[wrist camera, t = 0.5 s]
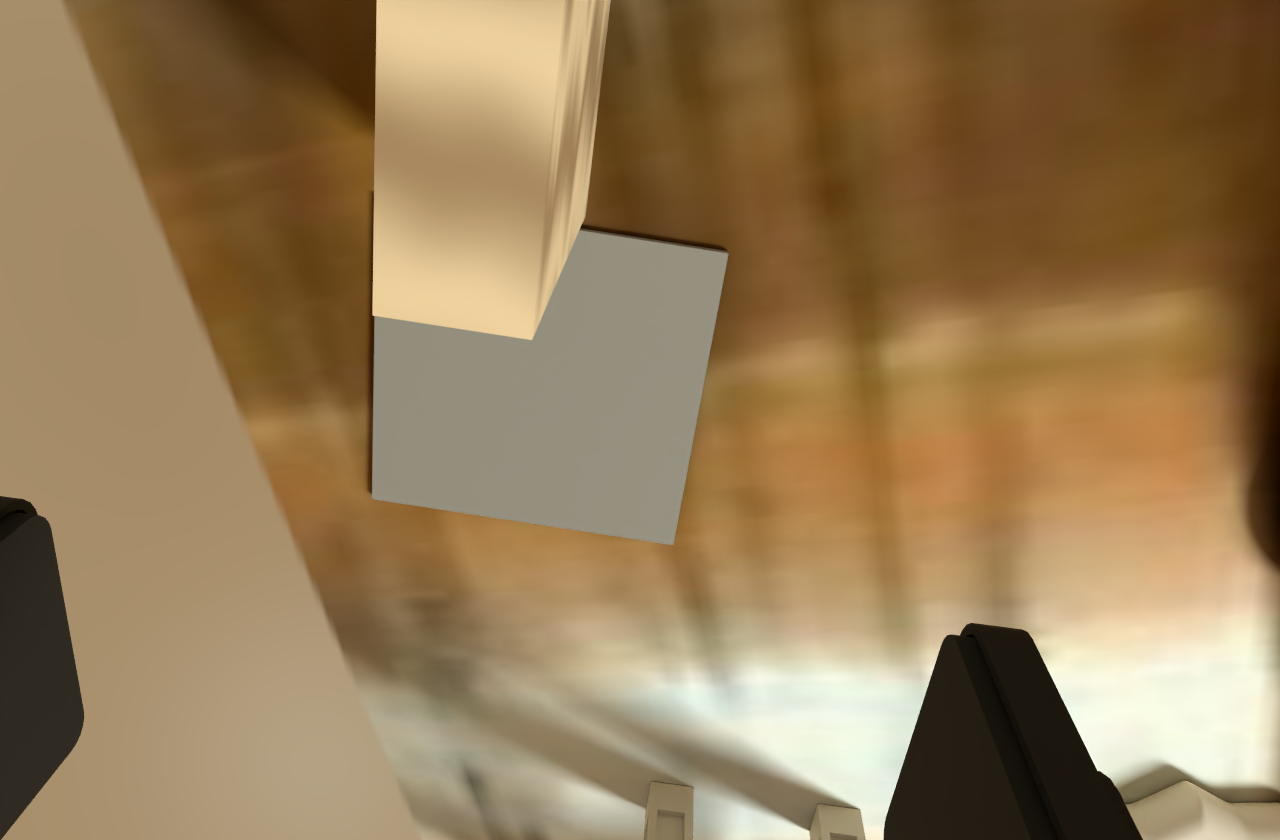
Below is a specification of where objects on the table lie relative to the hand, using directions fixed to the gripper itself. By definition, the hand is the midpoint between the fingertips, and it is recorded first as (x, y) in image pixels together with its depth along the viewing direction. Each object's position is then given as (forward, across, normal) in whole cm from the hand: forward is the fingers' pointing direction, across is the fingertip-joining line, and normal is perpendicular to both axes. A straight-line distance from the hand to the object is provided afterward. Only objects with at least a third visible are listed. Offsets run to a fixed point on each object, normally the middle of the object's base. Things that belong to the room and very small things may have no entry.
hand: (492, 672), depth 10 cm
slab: (+29, +4, -2) cm, 30 cm away
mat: (+30, +3, +10) cm, 31 cm away
